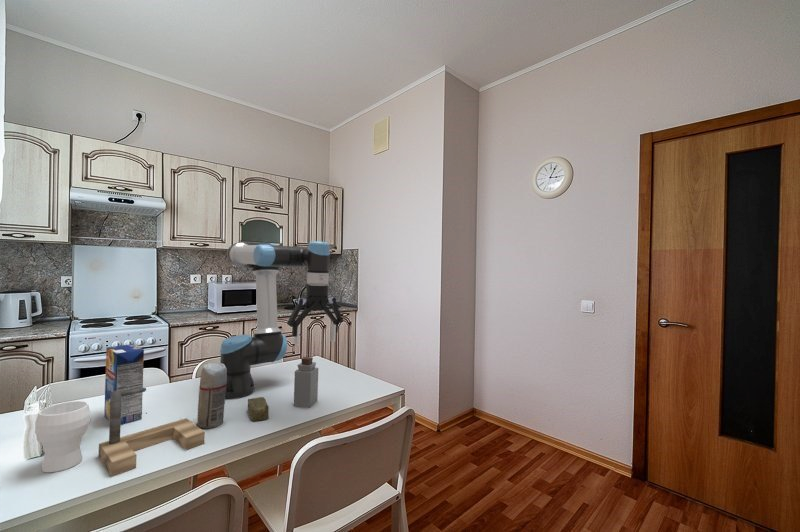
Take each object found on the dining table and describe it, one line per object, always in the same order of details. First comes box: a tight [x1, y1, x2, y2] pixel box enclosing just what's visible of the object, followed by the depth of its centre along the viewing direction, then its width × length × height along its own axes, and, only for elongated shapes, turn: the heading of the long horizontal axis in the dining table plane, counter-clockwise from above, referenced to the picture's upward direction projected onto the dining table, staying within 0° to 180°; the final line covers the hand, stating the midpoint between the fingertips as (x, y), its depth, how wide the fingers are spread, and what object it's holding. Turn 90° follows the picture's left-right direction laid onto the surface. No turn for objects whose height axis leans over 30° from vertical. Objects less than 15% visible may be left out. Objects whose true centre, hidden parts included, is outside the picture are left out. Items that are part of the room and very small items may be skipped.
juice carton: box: [103, 343, 145, 426], centre depth 120 cm, size 12×8×24 cm, turn 53°
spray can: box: [196, 362, 227, 429], centre depth 118 cm, size 8×8×20 cm
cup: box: [34, 400, 92, 473], centre depth 93 cm, size 11×11×15 cm
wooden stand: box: [98, 387, 206, 477], centre depth 101 cm, size 14×22×18 cm, turn 142°
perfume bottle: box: [293, 356, 319, 409], centre depth 138 cm, size 7×7×18 cm
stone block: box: [247, 396, 269, 422], centre depth 126 cm, size 6×12×5 cm, turn 31°
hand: (315, 343), depth 125 cm, fingers open, 13 cm apart
